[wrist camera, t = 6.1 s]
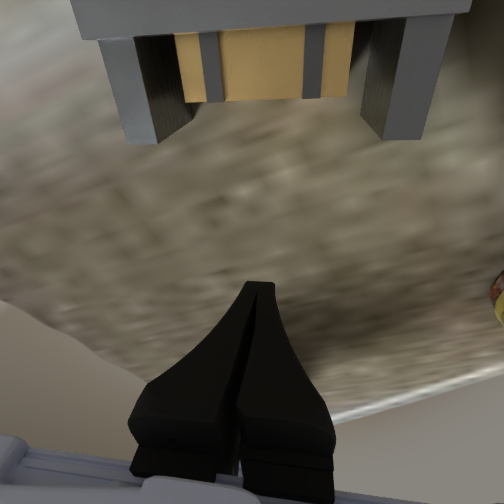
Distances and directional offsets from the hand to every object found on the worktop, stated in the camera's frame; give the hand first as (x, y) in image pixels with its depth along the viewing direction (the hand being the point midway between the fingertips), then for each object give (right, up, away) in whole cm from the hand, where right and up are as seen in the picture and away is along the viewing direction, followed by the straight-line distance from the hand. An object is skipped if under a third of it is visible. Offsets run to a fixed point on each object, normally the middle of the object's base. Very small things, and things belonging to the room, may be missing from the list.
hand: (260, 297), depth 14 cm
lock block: (0, +14, +1) cm, 14 cm away
